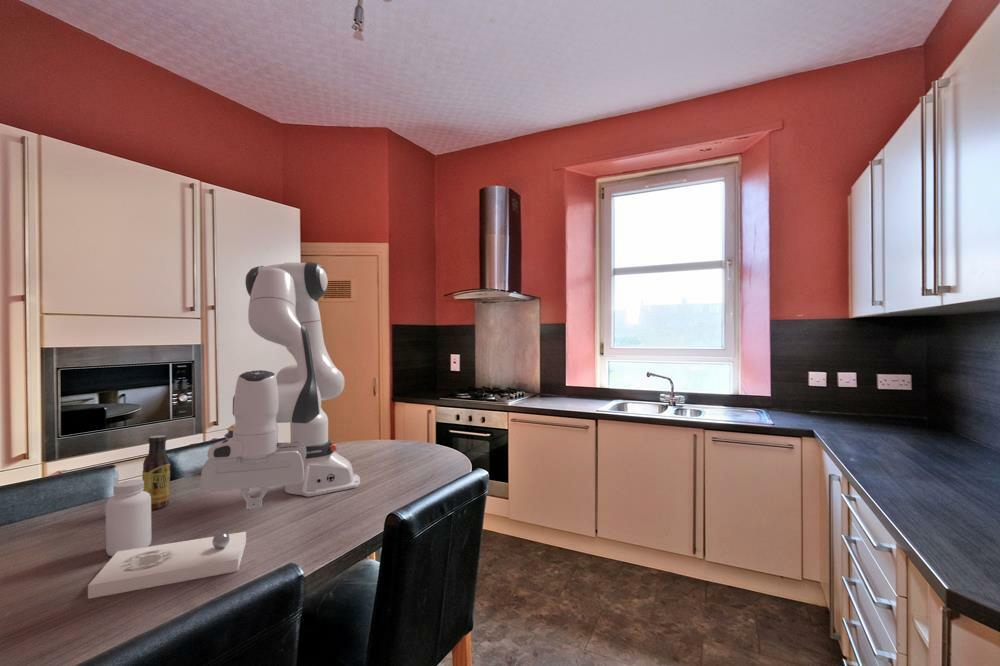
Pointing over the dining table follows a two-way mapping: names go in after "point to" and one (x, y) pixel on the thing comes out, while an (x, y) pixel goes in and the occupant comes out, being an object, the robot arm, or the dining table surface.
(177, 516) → the dining table surface
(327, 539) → the dining table surface
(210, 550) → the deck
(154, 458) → the sauce bottle
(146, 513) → the pill bottle
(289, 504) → the dining table surface
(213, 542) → the ball
